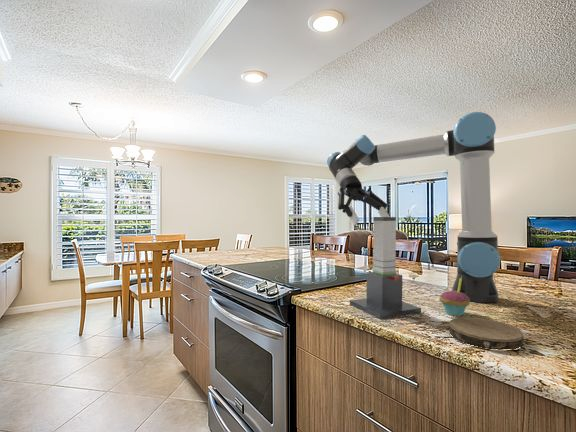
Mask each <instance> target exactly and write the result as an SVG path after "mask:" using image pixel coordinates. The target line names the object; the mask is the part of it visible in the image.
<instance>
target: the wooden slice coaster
mask: <svg viewBox="0 0 576 432" xmlns="http://www.w3.org/2000/svg"><path fill="white" fill-rule="evenodd" d="M450 334H451V335H452V336H453V337H454V338H456V339H457V340H456V339H455V340H456V341H458V340H459V341H461V342H460V343H462V342H464V343H467V344H470V345H474V346H478V347H482V348H489V349H516V348H519V347H522V346H523V347H524V333H523V331H522V330H520V328H517V327H516V326H514V325H511V324H508V323H505V322H501V321H498V320H494V319H490V318H484V317H483V318H482V317H473V316H472V317H470V316H465V317H463V316H459V317H455V318H452V319H450V320H449V335H450ZM451 335H450V336H451ZM452 336H451V337H452ZM453 337H452V338H453ZM454 338H453V339H454ZM459 341H458V342H459ZM464 343H463V344H464ZM467 344H466V345H467ZM470 345H469V346H470ZM523 347H522V348H523Z"/></svg>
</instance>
